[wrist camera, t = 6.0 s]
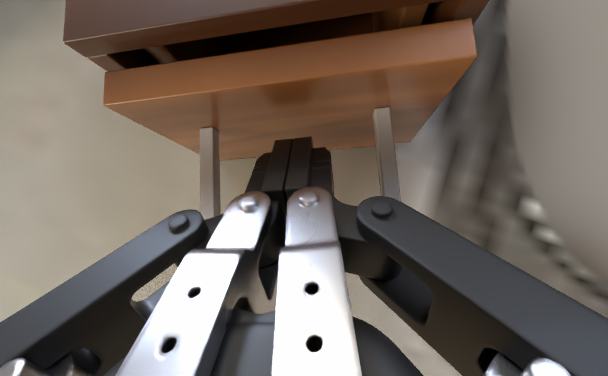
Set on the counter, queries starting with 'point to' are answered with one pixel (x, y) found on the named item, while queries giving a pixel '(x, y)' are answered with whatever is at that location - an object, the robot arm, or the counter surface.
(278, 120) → the drawer
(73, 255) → the counter surface
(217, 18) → the cabinet
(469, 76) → the counter surface
